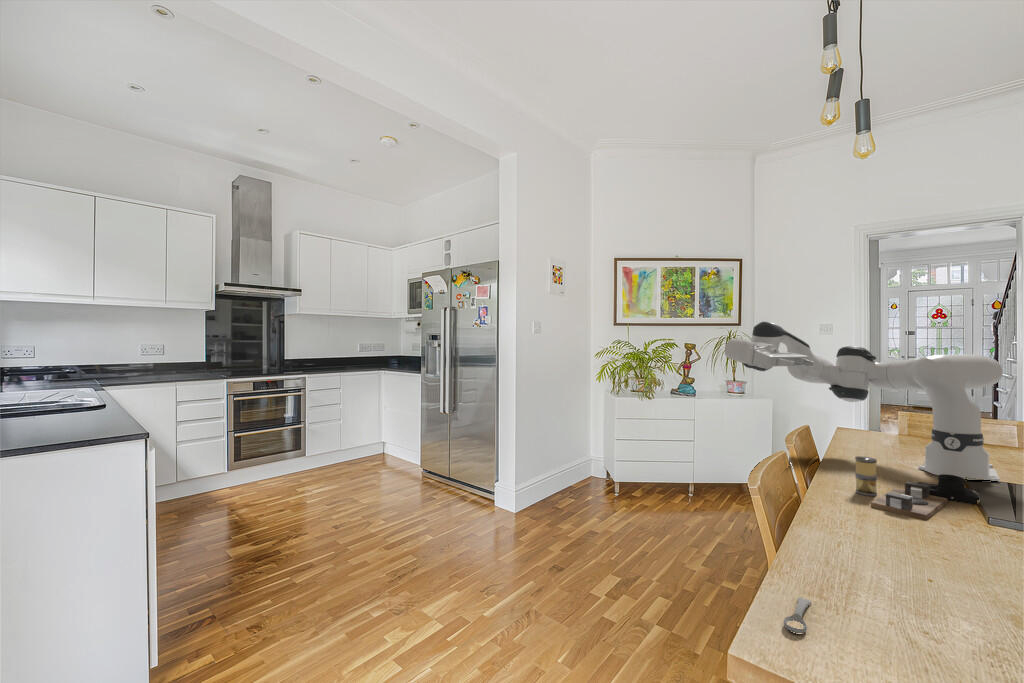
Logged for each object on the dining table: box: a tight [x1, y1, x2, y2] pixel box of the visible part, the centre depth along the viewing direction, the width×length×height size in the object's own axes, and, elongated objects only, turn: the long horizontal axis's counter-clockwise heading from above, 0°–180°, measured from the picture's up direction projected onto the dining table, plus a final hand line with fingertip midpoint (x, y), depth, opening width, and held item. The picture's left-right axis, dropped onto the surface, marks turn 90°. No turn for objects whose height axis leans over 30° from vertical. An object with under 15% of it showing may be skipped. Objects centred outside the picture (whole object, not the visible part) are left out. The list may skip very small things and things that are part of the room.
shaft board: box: [870, 480, 948, 521], centre depth 120 cm, size 20×11×4 cm, turn 126°
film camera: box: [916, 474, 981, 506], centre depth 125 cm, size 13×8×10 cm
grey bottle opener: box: [783, 597, 812, 634], centre depth 71 cm, size 3×12×2 cm, turn 140°
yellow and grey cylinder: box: [854, 455, 878, 497], centre depth 129 cm, size 5×5×10 cm
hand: (803, 364), depth 149 cm, fingers open, 8 cm apart
